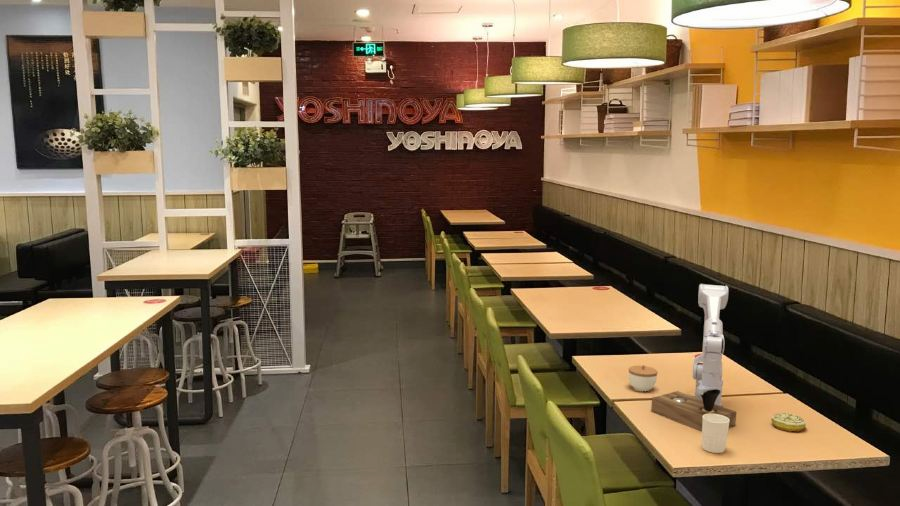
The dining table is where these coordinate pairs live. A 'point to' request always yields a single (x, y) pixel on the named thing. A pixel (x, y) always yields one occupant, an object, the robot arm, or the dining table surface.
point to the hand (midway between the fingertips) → (708, 410)
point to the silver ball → (679, 399)
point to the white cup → (714, 432)
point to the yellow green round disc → (788, 422)
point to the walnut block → (687, 409)
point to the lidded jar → (642, 377)
